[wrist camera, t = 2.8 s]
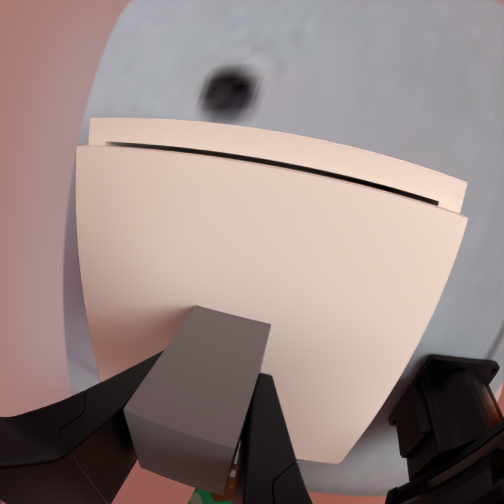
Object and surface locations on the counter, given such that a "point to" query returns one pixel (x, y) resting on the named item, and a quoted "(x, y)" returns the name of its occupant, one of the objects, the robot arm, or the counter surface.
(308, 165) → the carton
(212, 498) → the food container
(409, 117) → the counter surface
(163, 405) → the lid
